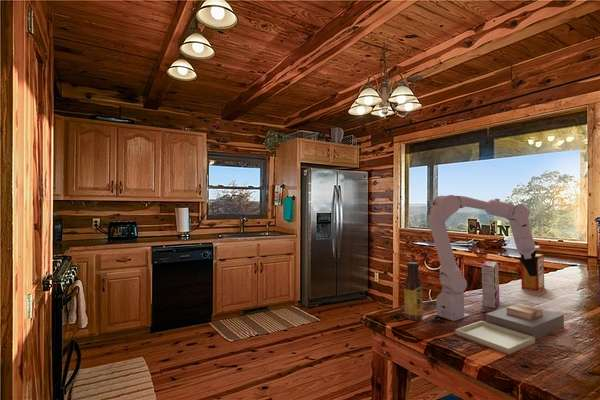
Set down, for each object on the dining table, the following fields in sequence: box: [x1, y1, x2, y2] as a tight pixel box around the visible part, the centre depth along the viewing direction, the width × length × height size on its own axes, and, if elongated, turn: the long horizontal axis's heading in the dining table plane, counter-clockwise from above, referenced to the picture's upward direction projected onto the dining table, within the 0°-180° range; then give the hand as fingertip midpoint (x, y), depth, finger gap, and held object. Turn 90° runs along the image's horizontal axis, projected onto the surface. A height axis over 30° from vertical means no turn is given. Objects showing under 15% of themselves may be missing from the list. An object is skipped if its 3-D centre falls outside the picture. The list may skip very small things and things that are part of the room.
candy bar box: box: [480, 260, 500, 309], centre depth 131 cm, size 11×5×16 cm, turn 143°
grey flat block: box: [485, 303, 565, 341], centre depth 107 cm, size 20×14×4 cm
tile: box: [506, 303, 543, 320], centre depth 107 cm, size 8×7×2 cm
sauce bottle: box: [403, 261, 424, 321], centre depth 117 cm, size 6×6×20 cm
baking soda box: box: [520, 253, 545, 292], centre depth 153 cm, size 10×6×16 cm
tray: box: [454, 320, 536, 355], centre depth 98 cm, size 14×16×2 cm
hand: (533, 272), depth 118 cm, fingers open, 7 cm apart
